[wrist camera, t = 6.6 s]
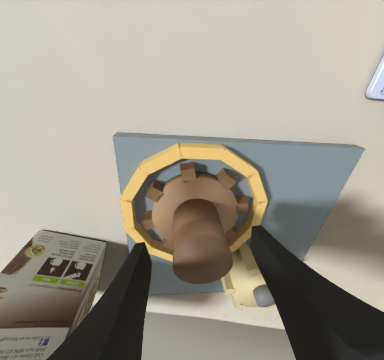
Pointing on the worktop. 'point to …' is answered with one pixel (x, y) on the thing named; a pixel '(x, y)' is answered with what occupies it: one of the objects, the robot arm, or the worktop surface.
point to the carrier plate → (246, 185)
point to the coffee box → (47, 293)
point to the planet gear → (196, 221)
